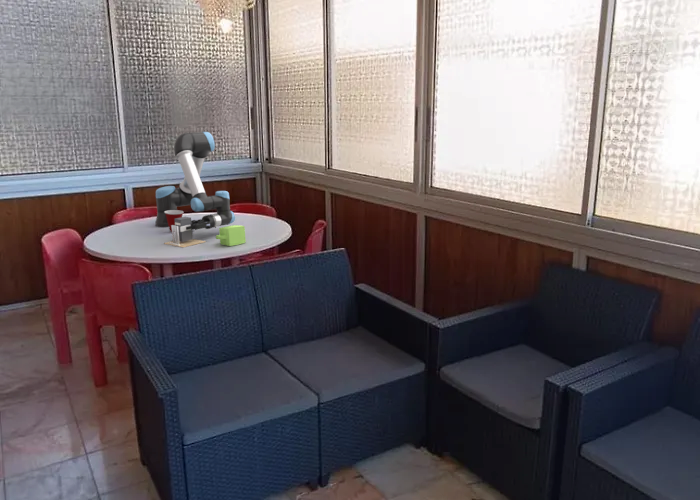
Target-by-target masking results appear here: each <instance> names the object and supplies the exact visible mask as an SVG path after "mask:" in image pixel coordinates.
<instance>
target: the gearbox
mask: <svg viewBox="0 0 700 500" xmlns="http://www.w3.org/2000/svg"><path fill="white" fill-rule="evenodd" d="M218 230H219V234H217V235H215V239H216V240H219V243H220V245H223V246H229V247H233V246H237V245H243V244H245V243H246V242H247V241H246V227H245V226H244V225H237V224H236V225H234V224H233V225H227V226H226V225H225V226H223V227H222V226H221V227H219V228H218Z"/></svg>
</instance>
